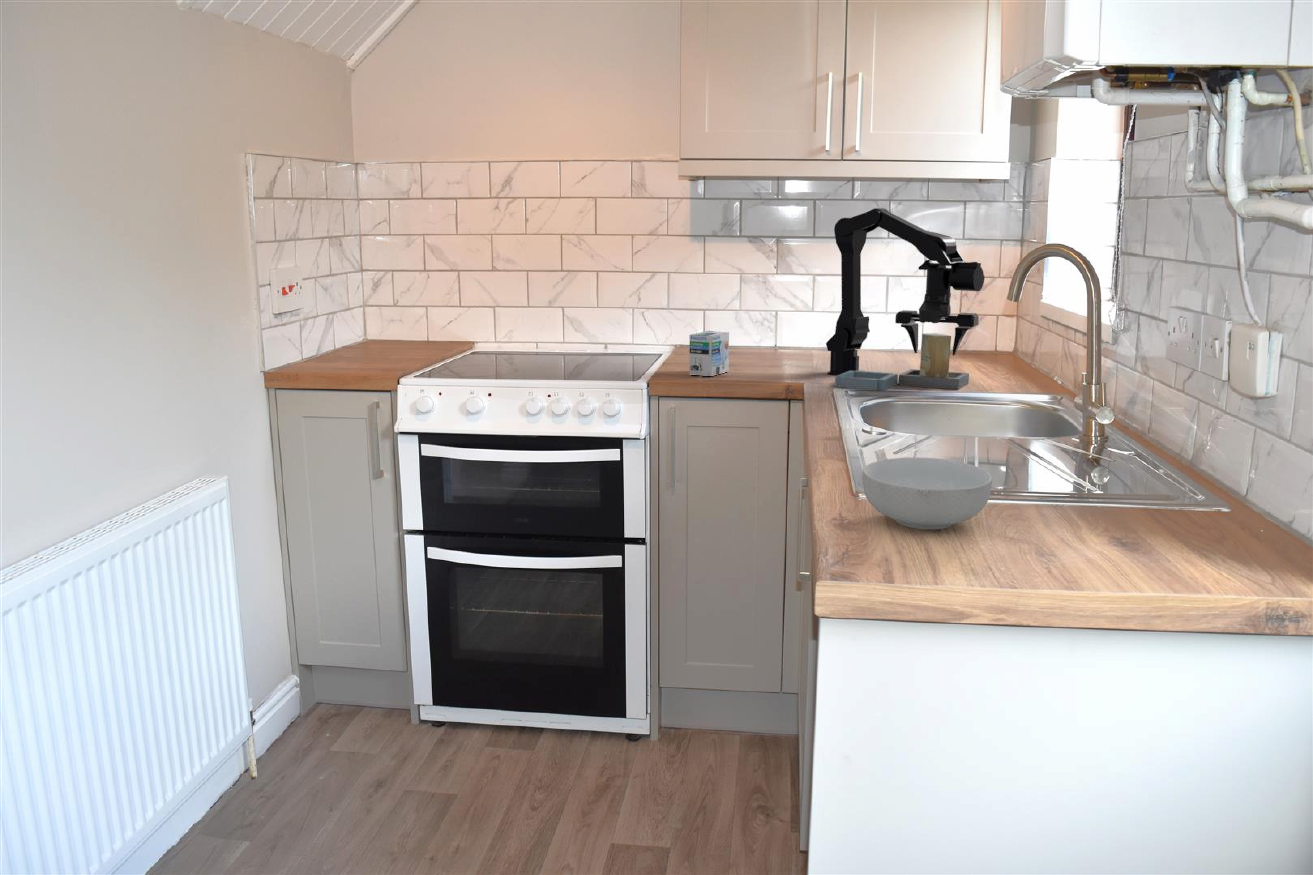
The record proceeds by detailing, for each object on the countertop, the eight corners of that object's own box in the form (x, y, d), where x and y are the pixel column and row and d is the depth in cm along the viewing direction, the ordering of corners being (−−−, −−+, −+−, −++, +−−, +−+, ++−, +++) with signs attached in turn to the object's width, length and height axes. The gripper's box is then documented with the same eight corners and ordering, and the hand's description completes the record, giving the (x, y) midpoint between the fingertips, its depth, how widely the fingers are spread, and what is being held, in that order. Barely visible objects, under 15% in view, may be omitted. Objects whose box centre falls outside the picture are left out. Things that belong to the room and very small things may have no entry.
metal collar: (898, 385, 252) (898, 374, 252) (910, 379, 261) (910, 369, 261) (958, 389, 245) (959, 379, 245) (968, 383, 254) (969, 373, 254)
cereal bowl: (841, 526, 140) (842, 475, 138) (887, 498, 153) (889, 452, 152) (966, 548, 130) (970, 494, 129) (1004, 516, 144) (1007, 466, 142)
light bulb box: (711, 378, 265) (711, 335, 263) (688, 376, 268) (688, 334, 266) (729, 372, 274) (730, 331, 272) (706, 370, 277) (706, 330, 275)
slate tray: (833, 387, 250) (834, 376, 249) (850, 379, 260) (850, 370, 260) (883, 391, 244) (883, 380, 244) (898, 383, 255) (898, 373, 254)
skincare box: (918, 382, 255) (920, 333, 253) (933, 381, 257) (935, 332, 254) (933, 386, 250) (936, 336, 247) (949, 385, 251) (951, 335, 248)
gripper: (890, 290, 246) (887, 355, 249) (970, 293, 237) (966, 361, 241) (903, 287, 255) (900, 350, 259) (980, 289, 247) (976, 355, 250)
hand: (934, 354), depth 252 cm, fingers open, 9 cm apart
